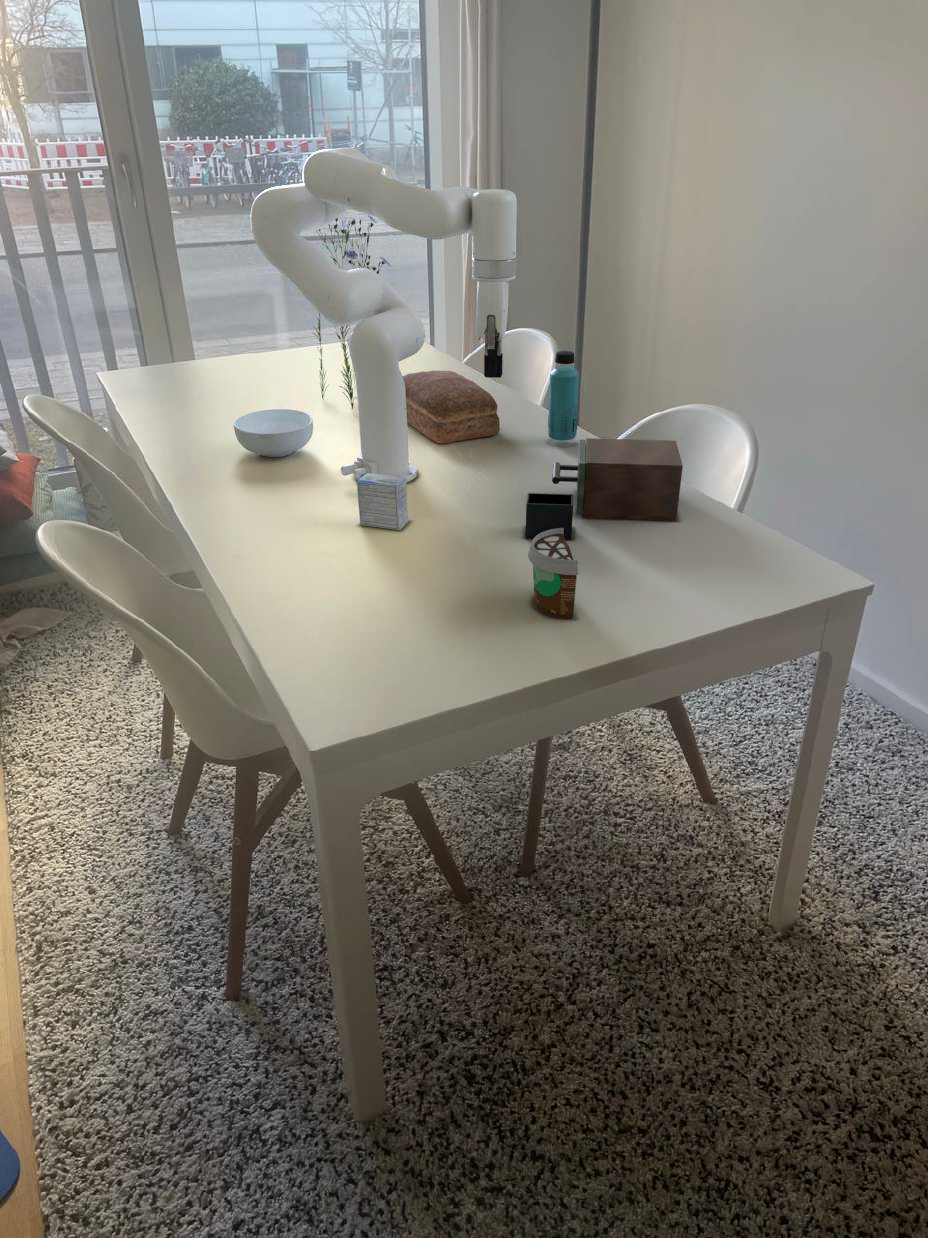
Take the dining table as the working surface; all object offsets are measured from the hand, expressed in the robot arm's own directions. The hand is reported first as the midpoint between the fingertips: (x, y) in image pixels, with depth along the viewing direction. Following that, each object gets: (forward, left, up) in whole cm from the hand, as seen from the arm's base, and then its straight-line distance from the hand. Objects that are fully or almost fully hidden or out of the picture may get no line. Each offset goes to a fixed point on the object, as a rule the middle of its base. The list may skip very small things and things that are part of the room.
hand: (493, 376), depth 164 cm
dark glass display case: (-4, -20, -23) cm, 31 cm away
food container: (-22, -39, -23) cm, 50 cm away
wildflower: (+13, +70, -23) cm, 75 cm away
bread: (+20, +42, -23) cm, 52 cm away
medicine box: (-24, +2, -23) cm, 34 cm away
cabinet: (+16, -20, -23) cm, 35 cm away
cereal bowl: (-20, +50, -23) cm, 59 cm away
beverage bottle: (+32, +14, -23) cm, 42 cm away
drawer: (+14, -18, -22) cm, 32 cm away
